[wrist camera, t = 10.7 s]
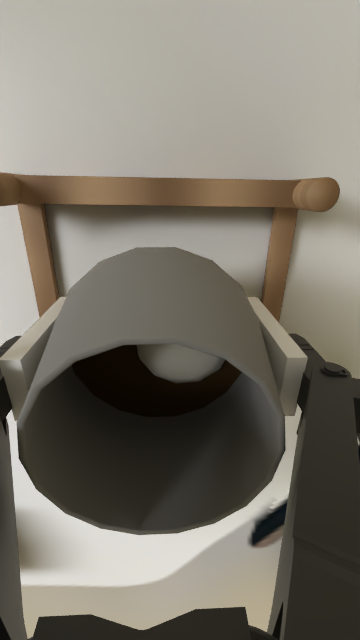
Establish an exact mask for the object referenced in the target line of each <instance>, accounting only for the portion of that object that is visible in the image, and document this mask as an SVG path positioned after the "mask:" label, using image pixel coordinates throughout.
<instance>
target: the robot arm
mask: <svg viewBox="0 0 360 640" xmlns="http://www.w3.org/2000/svg"><path fill="white" fill-rule="evenodd" d="M247 298H248V300H249V302H250V304H251V306H252V308H253V310H254V312H255V314H256V316H257V318H258V321H259V324H260V328H261V331H262V335H263V339H264V342H265V346H266V350H267V353H268V357H269V361H270V364H271V368H272V371H273V375H274V379H275V382H276V386H277V390H278V393H279V397H280V400H281V404H282V408H283V411H284V415H285V416H295V412H296V408H297V404H298V405H299V407H300V408H301V410H302V413H301V418H300V422H299V426H298V430H297V434H298V437H297V443H296V450H295V457H294V464H293V470H292V477H291V484H290V491H289V497H288V504H287V511H286V518H285V524H284V531H283V538H282V544H281V551H280V558H279V565H278V572H277V578H276V586H275V592H274V598H273V605H272V611H271V615H270V621H269V625H268V631H267V632H265V631H263V630H261V629H259V628H256V627H253V626H250V625H248V620H247V614H246V609H245V607H234V608H213V609H195V610H193V611H191V612H188V613H186V614H183V615H181V616H178V617H176V618H174V619H171V620H169V621H166V622H164V623H162V624H159V625H157V626H154V627H152V628H150V629H147V630H137V629H134V628H131V627H128V626H125V625H121V624H118V623H116V622H112V621H109V620H106V619H103V618H100V617H97V616H94V615H69V616H49V617H39V619H38V622H37V625H36V629H35V632H34V635H33V637H31V638H29V639H27V634H26V629H25V624H24V618H23V608H22V596H21V582H20V569H19V556H18V543H17V530H16V518H15V505H14V492H13V479H12V466H11V453H10V441H9V428H8V423H7V419H6V416H7V415H8V413H9V412H10V410H11V409H12V412H13V415H14V419H15V421H17V420H18V418H19V415H20V413H21V410H22V407H23V405H24V402H25V400H26V397H27V394H28V392H29V389H30V387H31V384H32V381H33V379H34V376H35V374H36V371H37V368H38V366H39V363H40V361H41V358H42V355H43V353H44V350H45V347H46V345H47V342H48V340H49V337H50V334H51V332H52V329H53V327H54V324H55V321H56V319H57V317H58V315H59V313H60V310H61V308H62V306H63V304H64V302H65V299H66V297H60V298H59V299H58V300H57V301H56V302H55V303H54V304H53V305H52V306H51V307H50V308H49V309H48V310H47V311H46V312H45V313H44V314H43V315H42V316H41V317H40V318H39V319H38V320H37V321H36V322H35V323H34V324H33V325H32V326H31V327H30V328H29V329H28V330H27V331H26V332H25V333H24V334H23V335H22V336H15V337H14V338H12V339H10V340H8V341H6V342H5V343H4V344H3V345H2V346H1V347H0V640H360V463H359V452H358V442H357V437H358V439H359V441H360V379H355V378H351V374H350V372H349V371H348V370H346V369H345V368H343V367H342V366H340V365H337V364H334V363H329V362H326V361H325V360H324V359H323V358H322V357H321V356H320V355H319V354H318V353H317V352H316V351H315V350H314V348H313V347H312V346H310V344H309V343H308V342H307V341H306V340H305V339H304V338H302V337H301V336H299V335H297V334H288V333H287V332H286V331H285V330H284V328H283V327H282V326H281V325H280V324H279V323H278V321H277V320H276V319H275V318H274V317H273V315H272V314H271V313H270V312H269V311H268V309H267V308H266V307H265V306H264V305H263V304H262V302H261V301H260V300H259V299H258V298H257V297H247Z"/></svg>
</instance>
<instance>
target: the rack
mask: <svg viewBox="0 0 360 640" xmlns="http://www.w3.org/2000/svg"><path fill="white" fill-rule="evenodd" d="M339 194H340V188H339V185H338V183H337V182H336V181H335V180H334V179H332V178H329V177H325V178H312V179H299V180H244V179H192V178H140V177H89V176H37V175H20V174H11V173H1V172H0V206H7V205H18V210H19V215H20V220H21V225H22V230H23V235H24V240H25V245H26V250H27V255H28V260H29V265H30V270H31V275H32V280H33V286H34V291H35V296H36V301H37V306H38V311H39V316H40V317H41V316H42V315H43V314H44V313H45V312H46V311H47V310H48V309H49V308H50V307H51V306H52V305H53V304H54V303H55V302H56V301H57V300H58V299H59V294H58V288H57V282H56V276H55V270H54V263H53V257H52V251H51V245H50V239H49V233H48V227H47V220H46V214H45V208H44V204H97V205H164V206H231V207H274V213H273V220H272V227H271V234H270V242H269V249H268V256H267V263H266V270H265V278H264V285H263V292H262V299H261V302H262V304H263V305H264V306H265V307H266V308H267V309H268V311H269V312H270V313H271V314H272V315H273V317H274V318H275V319H276V320H277V321H278V323H279V319H280V313H281V307H282V301H283V295H284V289H285V284H286V278H287V272H288V266H289V260H290V254H291V248H292V242H293V237H294V231H295V225H296V219H297V213H298V209H303V210H310V211H317V212H324V211H327V210H329V209H330V208H332V207H333V206H334V205H335V203H336V202H337V200H338V198H339Z"/></svg>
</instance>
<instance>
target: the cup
mask: <svg viewBox="0 0 360 640" xmlns="http://www.w3.org/2000/svg"><path fill="white" fill-rule="evenodd" d="M17 435H18V453H19V459H20V461H21V463H22V465H23V467H24V468H25V470H26V472H27V474H28V475H29V477H30V479H31V481H32V482H33V484H34V486H35V488H36V489H37V490H38V491H39V492H40V493H42V494H43V495H44V496H45V497H46V498H48V499H49V500H50V501H51V502H52V503H54V504H55V505H56V506H57V507H58V508H60V509H61V510H62V511H63V512H64V513H66V514H68V515H71V516H73V517H75V518H78V519H80V520H82V521H85V522H87V523H89V524H92V525H94V526H96V527H98V528H102V529H107V530H113V531H119V532H125V533H130V534H136V535H148V534H171V533H180V532H184V531H188V530H191V529H195V528H199V527H203V526H206V525H210V524H214V523H216V522H218V521H220V520H221V519H223V518H225V517H227V516H229V515H231V514H232V513H234V512H236V511H238V510H240V509H242V508H243V507H245V506H247V505H248V504H249V503H250V502H251V501H252V500H253V499H254V498H255V497H256V496H257V495H258V494H259V493H260V492H261V491H262V490H263V489H264V488H265V487H266V486H267V485H268V484H269V483H270V482H271V481H272V479H273V477H274V474H275V472H276V470H277V468H278V465H279V463H280V461H281V459H282V456H283V454H284V452H285V415H284V411H283V408H282V404H281V400H280V397H279V393H278V390H277V386H276V382H275V379H274V375H273V371H272V368H271V364H270V361H269V357H268V353H267V350H266V346H265V342H264V339H263V335H262V331H261V328H260V324H259V321H258V318H257V316H256V314H255V312H254V310H253V308H252V306H251V304H250V302H249V300H248V298H247V296H246V294H245V292H244V290H243V288H242V286H241V285H240V284H239V283H237V282H236V281H235V280H234V279H233V278H232V277H230V276H229V275H228V274H227V273H226V272H225V271H224V270H222V269H221V268H220V267H219V266H218V265H217V264H216V263H214V262H213V261H212V260H209V259H206V258H204V257H201V256H198V255H196V254H193V253H190V252H187V251H185V250H182V249H179V248H176V247H165V248H135V249H132V250H129V251H127V252H124V253H121V254H119V255H116V256H113V257H111V258H108V259H105V260H103V261H101V262H99V263H98V264H97V265H96V266H95V267H93V268H92V269H91V270H90V271H89V272H88V273H87V274H86V275H85V276H84V277H82V278H81V279H80V280H79V281H78V282H77V283H76V284H75V285H74V286H73V287H72V288H71V289H70V291H69V293H68V295H67V297H66V299H65V302H64V304H63V306H62V308H61V310H60V313H59V315H58V317H57V319H56V321H55V324H54V327H53V329H52V332H51V334H50V337H49V340H48V342H47V345H46V347H45V350H44V353H43V355H42V358H41V361H40V363H39V366H38V368H37V371H36V374H35V376H34V379H33V381H32V384H31V387H30V389H29V392H28V394H27V397H26V400H25V402H24V405H23V407H22V410H21V413H20V415H19V418H18V420H17Z"/></svg>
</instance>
